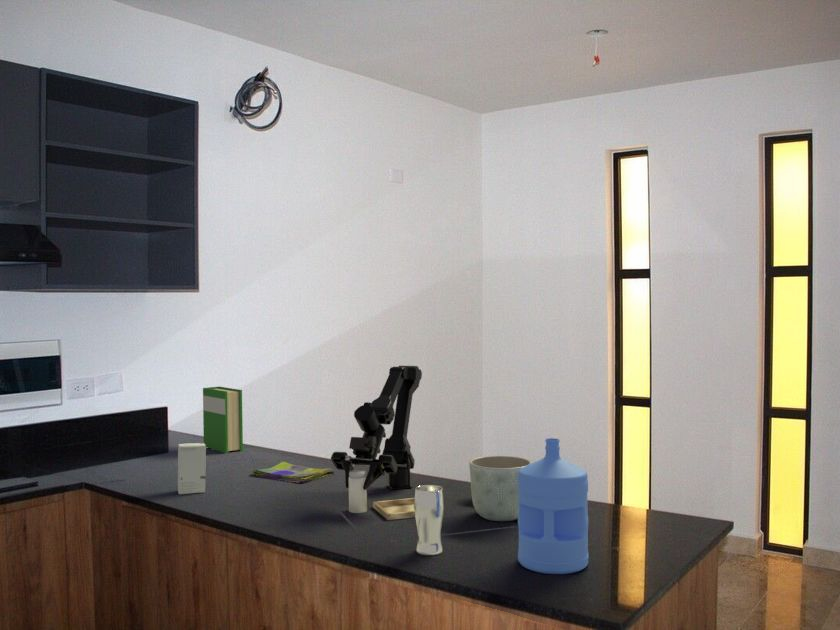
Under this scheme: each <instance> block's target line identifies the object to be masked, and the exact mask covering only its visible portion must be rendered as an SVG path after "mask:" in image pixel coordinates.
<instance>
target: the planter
mask: <svg viewBox="0 0 840 630" xmlns="http://www.w3.org/2000/svg"><path fill="white" fill-rule="evenodd" d="M468 463H469V476H470V489H471V492H470V493H471V500H472V505H473V508H474V510H475V511H476V513H477V514H478V515H479V516H480V517H481V518H483V519H485V520H489V521H492V522H493V521H494V522H495V521H496V522H512V521H516V520H518V472H519V470H520V469H521V468H523V467H525V466H527V465H529V464H532V463H533V462H532V461H531V460H529V458H524V457H520V456H519V457H518V456H513V455H512V456H511V455H490V456H489V455H488V456H479V457H475V458H472V459H470V460H469V462H468Z"/></svg>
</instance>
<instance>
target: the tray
mask: <svg viewBox="0 0 840 630" xmlns="http://www.w3.org/2000/svg"><path fill="white" fill-rule="evenodd" d="M414 500H415V497H411V498H410V497H409V498H399V499H390V500H387V499H386V500H378V501H372V508H373V509H374V510H375V511H376V512H377V513H379V514H380V515H381V516H383V518H384V519H385V520H387V521H392V520H403V519H411V518H412V519H413V518H414V519H415V510H414Z"/></svg>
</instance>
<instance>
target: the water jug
mask: <svg viewBox="0 0 840 630" xmlns="http://www.w3.org/2000/svg"><path fill="white" fill-rule="evenodd" d="M544 441H545V448H544V450H545V456H544V457H543V458H541V459H539V460H536V461H533V462H532V464H529V465H527V466H525V467H523V468H521V469H520V470H519V472H518V519H517V527H518V550H517V560H518V562H519V564H520V566H522V567H524V568H525V569H528V570H530V571H532V572H536V573H541V574H547V575H567V574H568V575H569V574H573V573H577V572H580V571H582V570H583V569H586V567H587V566H588V564H589V561H590V560H589V558H590V556H589V555H590V554H589V548H588V547H589V546H588V545H589V542H588V540H589V537H588V536H589V535H588V534H589V531H588V529H589V515H588V492H589V479H588V472H587V471H586V470H585V469H583V468H582V467H580V466H578V465H576V464H574V463H571V462H570V461H567V460H565V459H563V458H562V457H561V456H560V450H561V449H560V447H561V446H560V439H559V438H553V437H550V438H545V440H544Z"/></svg>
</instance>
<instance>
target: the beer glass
mask: <svg viewBox="0 0 840 630" xmlns="http://www.w3.org/2000/svg"><path fill="white" fill-rule="evenodd" d="M414 490H415V491H414V498H415V500H414V509H415V517H414V519H415V522H416V523H415V524H416V527H417V528H416V529H417V545H416V553H418V554H419V555H423V556H435V555H440V554H441V553H442V552H443V545H442V539H441V531H442V525H443V521H444V514H445V513H444V511H445V510H444V509H445V505H444V504H445V503H444V502H445V501H444V488H443V486H440V485H437V484H436V485H435V484H423V485H419V486H415V488H414Z"/></svg>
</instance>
